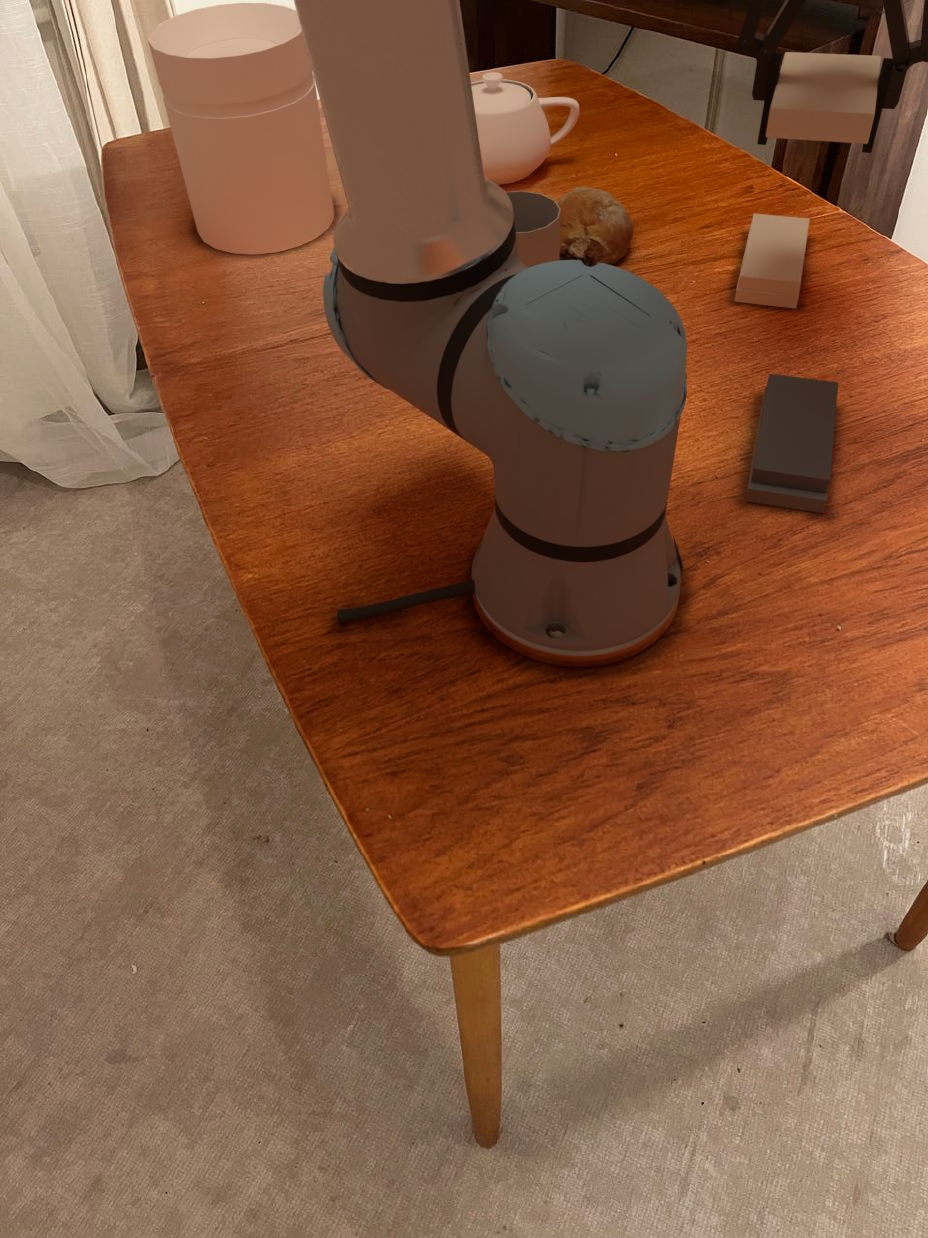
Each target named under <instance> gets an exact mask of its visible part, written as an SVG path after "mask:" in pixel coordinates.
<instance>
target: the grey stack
mask: <svg viewBox="0 0 928 1238" xmlns="http://www.w3.org/2000/svg"><path fill="white" fill-rule="evenodd" d="M838 393H839V382H838V381H831V380H823V379H816V378H809V377H808V378H807V377H802V376H801V377H800V376H793V375H784V374H777V373H769V374H768V378H767V382H766V386H764V390H763V394H762V399H761V404H760V405H761V406H760V411H759V417H758V423H757V429H756V434H755V435H756V436H755V441H754V446H753V454H752V459H751V466H750V471H749V477H748V483H747V489H746V495H745V496H746V497H745V502H747V503H754V504H761V505H766V506H772V507H780V508H785V509H793V510H797V511H798V510H799V511H805V512H811V513H816V514H817V513H818V514H824V511H825V508H826V505H827V501H828V494H829V493H828V492H829V485H830V483H831V476H832V464H833V452H834V441H835V428H836V417H837V405H838V404H837V403H838Z"/></svg>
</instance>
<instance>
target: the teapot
mask: <svg viewBox="0 0 928 1238" xmlns="http://www.w3.org/2000/svg"><path fill="white" fill-rule="evenodd" d="M471 87H472V94H473V101H474V109H475V116H476V123H477V130H478V137H479V144H480V151H481V158H482V165H483V172H484V177H485V178H487V179H488V180H490V181H492V182H493V183H495V184H496V185H498V186H500V185H501V186H502V185H509V184H512V183H516V182H519V181H521V180H523V179H526V178H528V177H529V176H530V175H531V174H533V172H535V170H536V169H538V168H539V167H540V166H541V165H542V164H543V162H544V161H545V160H546V159H547V157H548V155H549V152H550V149H551V147H553V146H555V145H557V144H558V143H559V142H561V141H562V140H563V139H565V137H567V136H568V135H569V133H570V132H572V130H573V129H574V127H575V125H577V122H578V119H579V116H580V104H579V102H578V101H577V100H576V99H574V98H572V97H569V96H550V97H538V95H537V93H536V91H535V89H534V88H533V87H531V86H530V85H528V84H526V83H524V82H521V81H517V80H513V79H506V78H505V79H504V75H503V74H502V73H501V72H496V71H495V72H494V71H493V72H492V71H491V72H486V73H483V74H482V76H481V80H475V81H472V82H471ZM554 106H555V107H556V106H563V107H568V108H569V109H570V110H569V115H568V118H567V120H566V121H565V123H564V124H563V126H561V128H560V129H559V130H558V131H556V133H554V134H553V135H551V132H550V126H549V122H548V119H547V116H546V113H545V111H544V107H554Z"/></svg>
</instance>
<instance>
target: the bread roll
mask: <svg viewBox="0 0 928 1238" xmlns="http://www.w3.org/2000/svg"><path fill="white" fill-rule="evenodd" d="M556 203H557V204H558V206H559V207H560V209H561V221H560V254H559V260H581V261H582V263H583V264H584V265H585V266H588V267H593V266H595V265H597V264H598V263H604V264H608V265H614V264H617V262H619V260H620V259H622V258H623V257H625V256H626V254H627V253H628V250H629V248H630V244H631V241H632V239H633V235H634V224H633V222H632V220H631V217H630V215H629V213H628V212H627V209H626V208H625V207H624V205H623V204H622V203H621V201H619V200H618V198H616V197H615V196H613V194H610V192H608V191H605V190H603V189H600V188H595V187H584V186H575V188H572V190H570V191H569V192H567V193H565V194H564V195H563V196H561V197H559V199H558V200H556Z"/></svg>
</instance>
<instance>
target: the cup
mask: <svg viewBox="0 0 928 1238" xmlns="http://www.w3.org/2000/svg"><path fill="white" fill-rule="evenodd" d="M505 192H506V194H507V195H508V197H509V199H510V201H511V203H512V207H513V212H514V222H515V230H516V236H517V245H518V253H519V257H520V259H521V261H522V263H523V264H524V265H525V266H526V267H528V268H529V267H532V266H535V265H538V264H542V263H547V262H552V261H559V254H560V221H561V209H560V207H559V206H558V204H557V203H556V202H557V200H555V199H553V198H551V197H550V196H547V195H544V194H543V193H540V192H532V191H526V190H514V191H513V190H512V191H505Z"/></svg>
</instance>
